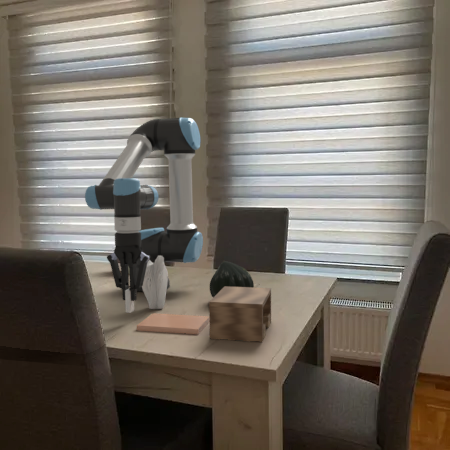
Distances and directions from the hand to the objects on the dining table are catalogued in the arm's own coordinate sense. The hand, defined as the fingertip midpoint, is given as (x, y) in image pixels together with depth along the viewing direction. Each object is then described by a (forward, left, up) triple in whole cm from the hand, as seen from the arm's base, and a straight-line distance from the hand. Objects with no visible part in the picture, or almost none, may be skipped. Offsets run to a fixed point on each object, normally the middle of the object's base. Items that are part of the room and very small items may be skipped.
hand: (129, 311), depth 137 cm
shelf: (+34, 0, -4) cm, 34 cm away
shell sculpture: (+2, +16, -4) cm, 17 cm away
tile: (+14, 0, -4) cm, 14 cm away
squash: (+25, +28, -4) cm, 38 cm away
